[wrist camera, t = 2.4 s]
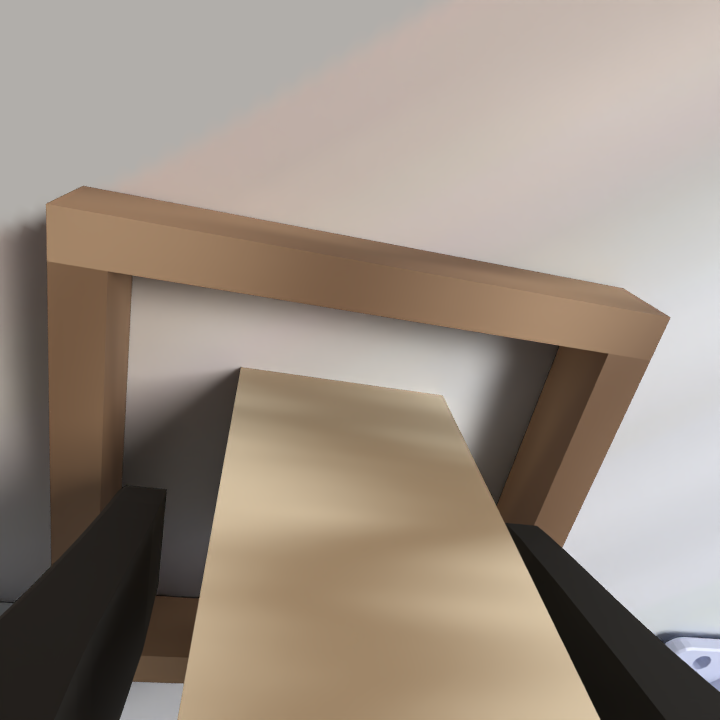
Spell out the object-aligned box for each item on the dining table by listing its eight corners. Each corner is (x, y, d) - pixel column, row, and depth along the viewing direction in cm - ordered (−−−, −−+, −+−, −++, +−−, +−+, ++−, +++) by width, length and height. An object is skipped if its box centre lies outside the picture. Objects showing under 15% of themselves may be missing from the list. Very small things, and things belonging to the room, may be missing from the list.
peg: (442, 395, 11) (699, 922, 4) (395, 546, 13) (523, 1113, 6) (240, 366, 11) (135, 951, 3) (217, 530, 12) (113, 1158, 5)
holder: (622, 288, 11) (670, 317, 9) (474, 638, 15) (493, 694, 13) (83, 185, 9) (46, 203, 8) (77, 616, 13) (53, 678, 11)
